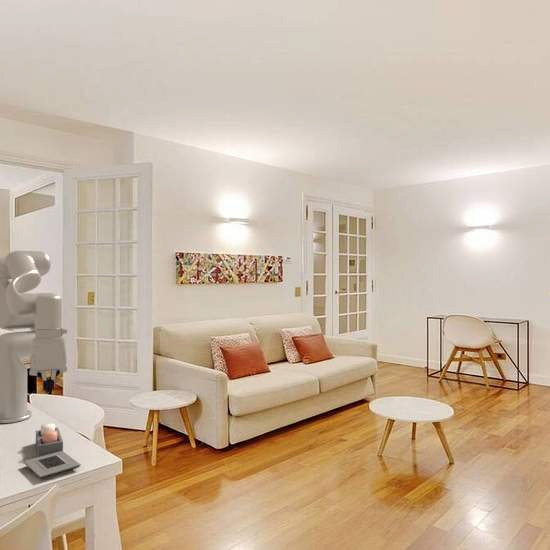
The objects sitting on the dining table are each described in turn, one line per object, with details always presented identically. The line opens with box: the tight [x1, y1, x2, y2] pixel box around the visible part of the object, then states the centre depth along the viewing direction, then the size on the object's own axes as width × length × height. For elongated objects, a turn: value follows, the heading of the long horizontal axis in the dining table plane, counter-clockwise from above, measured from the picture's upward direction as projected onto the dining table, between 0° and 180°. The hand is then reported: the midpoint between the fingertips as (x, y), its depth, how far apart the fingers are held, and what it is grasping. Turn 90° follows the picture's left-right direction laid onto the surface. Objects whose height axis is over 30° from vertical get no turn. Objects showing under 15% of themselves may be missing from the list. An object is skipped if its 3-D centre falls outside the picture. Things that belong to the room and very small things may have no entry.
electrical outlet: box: [23, 450, 81, 480], centre depth 127 cm, size 13×10×2 cm
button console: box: [35, 427, 64, 457], centre depth 141 cm, size 14×6×4 cm, turn 31°
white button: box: [40, 423, 56, 436], centre depth 144 cm, size 4×4×4 cm
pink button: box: [43, 430, 57, 444], centre depth 138 cm, size 4×4×4 cm
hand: (48, 392), depth 144 cm, fingers closed
